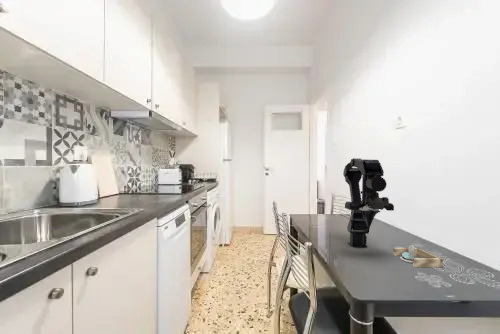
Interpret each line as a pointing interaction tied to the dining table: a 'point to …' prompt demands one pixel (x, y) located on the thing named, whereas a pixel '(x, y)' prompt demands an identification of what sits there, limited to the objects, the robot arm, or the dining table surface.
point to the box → (425, 259)
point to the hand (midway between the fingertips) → (368, 226)
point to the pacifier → (405, 254)
